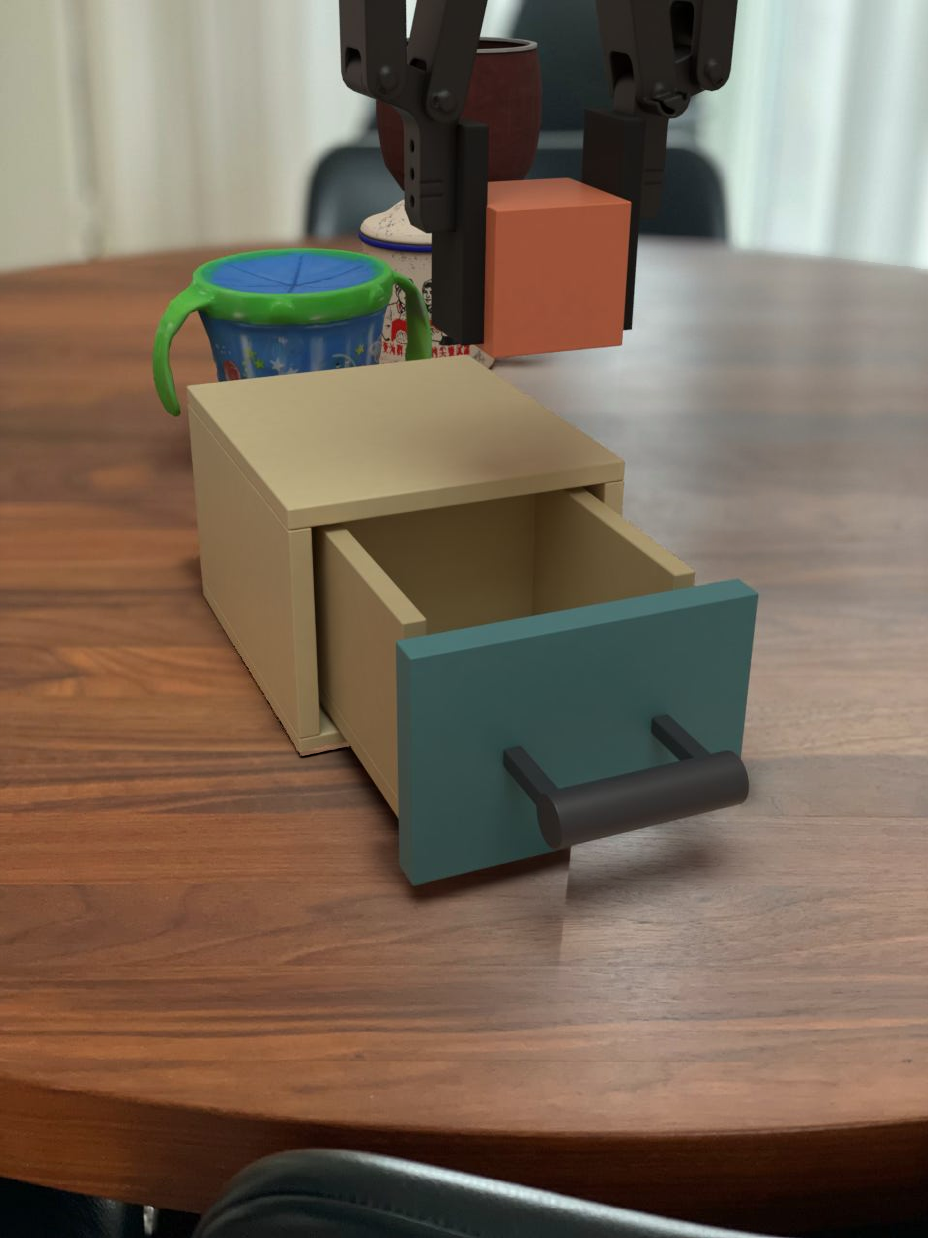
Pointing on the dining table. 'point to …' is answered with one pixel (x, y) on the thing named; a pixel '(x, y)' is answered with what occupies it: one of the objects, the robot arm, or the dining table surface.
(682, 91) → the robot arm
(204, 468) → the cabinet
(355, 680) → the drawer
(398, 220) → the teacup with lid
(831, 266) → the dining table surface
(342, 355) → the snack cup
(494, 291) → the block
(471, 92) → the mate gourd
